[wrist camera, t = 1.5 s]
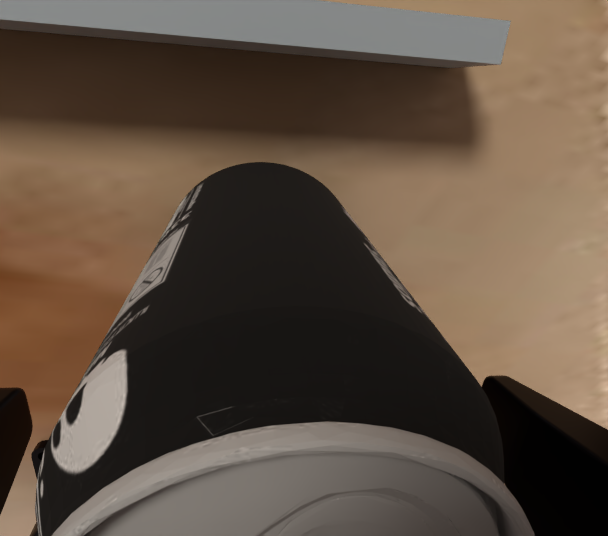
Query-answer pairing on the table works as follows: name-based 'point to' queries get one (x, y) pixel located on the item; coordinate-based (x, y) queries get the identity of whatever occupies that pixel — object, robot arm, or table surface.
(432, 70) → the table surface
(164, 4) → the low wall
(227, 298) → the beverage can
